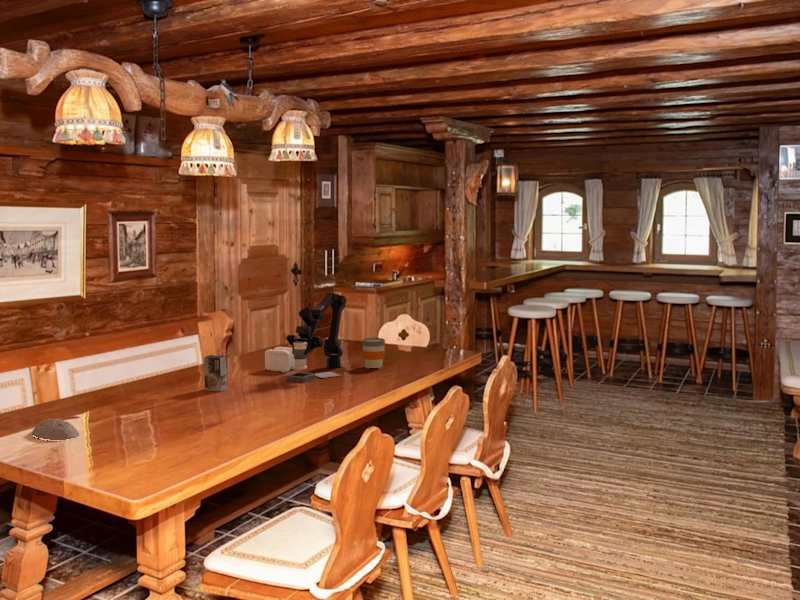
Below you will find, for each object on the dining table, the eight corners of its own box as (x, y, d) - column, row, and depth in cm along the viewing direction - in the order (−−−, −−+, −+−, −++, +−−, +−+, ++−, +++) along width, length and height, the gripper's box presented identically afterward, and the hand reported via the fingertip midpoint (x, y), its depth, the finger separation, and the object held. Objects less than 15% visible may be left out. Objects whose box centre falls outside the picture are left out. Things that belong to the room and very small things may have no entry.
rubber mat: (330, 372, 407) (330, 371, 407) (340, 376, 398) (340, 375, 398) (311, 375, 401) (311, 373, 401) (321, 378, 392) (321, 377, 392)
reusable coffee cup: (358, 368, 418) (358, 340, 417) (368, 364, 430) (367, 337, 428) (379, 370, 414) (379, 342, 412) (389, 365, 425) (388, 338, 424)
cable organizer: (299, 369, 416) (298, 348, 415) (287, 373, 406) (287, 351, 405) (275, 367, 422) (275, 346, 421) (264, 371, 413) (263, 349, 412)
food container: (61, 423, 309) (59, 407, 307) (90, 438, 292) (88, 422, 290) (21, 435, 298) (18, 419, 296) (49, 452, 281) (46, 434, 279)
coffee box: (228, 389, 370) (227, 355, 368) (221, 391, 364) (220, 357, 362) (211, 387, 373) (210, 354, 371) (204, 390, 367) (203, 356, 365)
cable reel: (303, 366, 394) (303, 340, 393) (309, 368, 389) (308, 342, 387) (291, 367, 391) (291, 342, 389) (297, 369, 385) (296, 343, 384)
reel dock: (297, 376, 397) (297, 372, 397) (315, 378, 393) (315, 373, 393) (286, 380, 388) (286, 375, 387) (304, 382, 383) (304, 377, 383)
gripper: (287, 318, 394) (276, 343, 385) (320, 320, 387) (309, 346, 378) (296, 332, 402) (285, 356, 393) (327, 334, 395) (317, 359, 386)
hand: (298, 354), depth 388 cm, fingers closed on cable reel, 6 cm apart
